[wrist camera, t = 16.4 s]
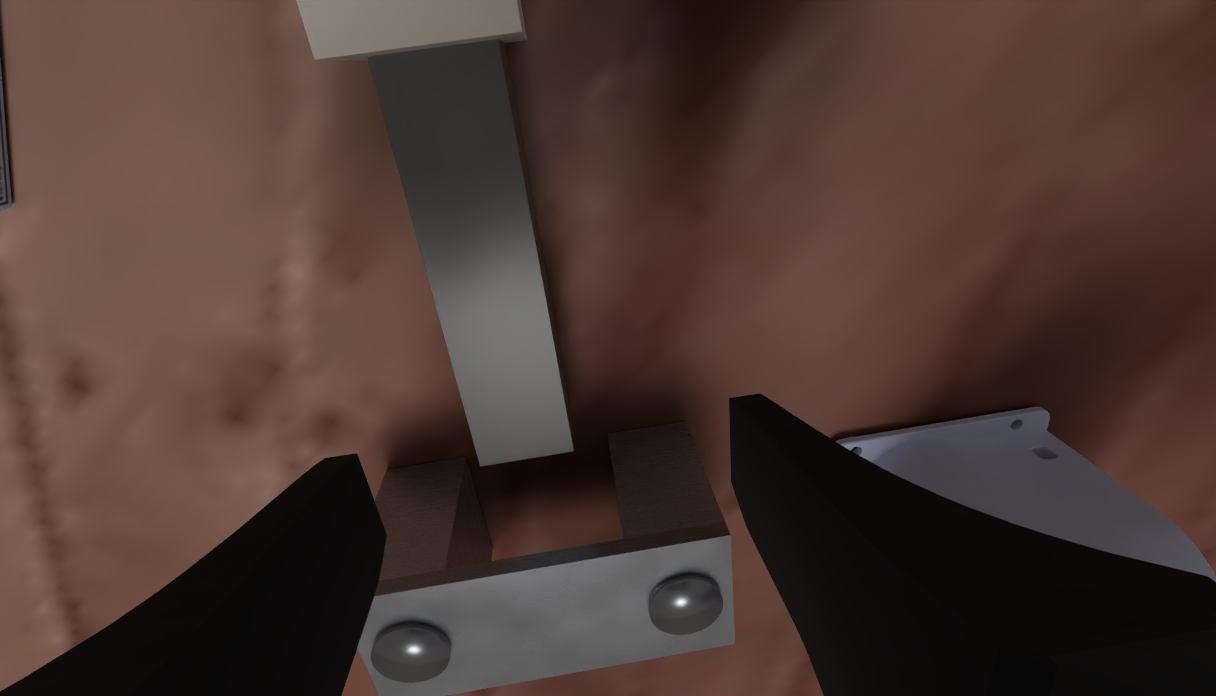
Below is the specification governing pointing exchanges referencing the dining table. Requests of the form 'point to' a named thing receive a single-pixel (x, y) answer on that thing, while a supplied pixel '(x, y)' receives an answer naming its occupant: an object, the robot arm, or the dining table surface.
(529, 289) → the plug
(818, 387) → the dining table surface
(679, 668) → the dining table surface
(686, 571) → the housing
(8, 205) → the medicine box
